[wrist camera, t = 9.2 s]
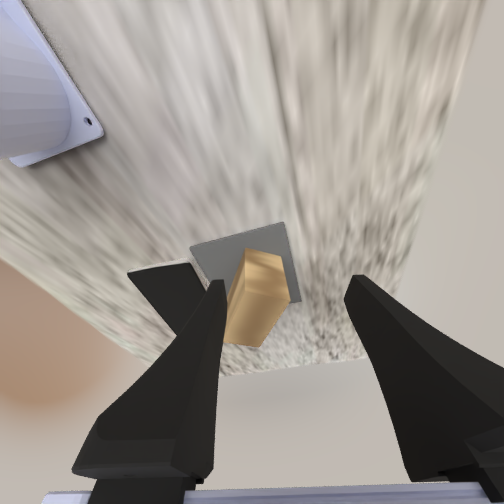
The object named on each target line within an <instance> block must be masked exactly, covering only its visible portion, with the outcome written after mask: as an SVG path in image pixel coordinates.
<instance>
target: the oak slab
mask: <svg viewBox="0 0 504 504" xmlns="http://www.w3.org/2000/svg"><path fill="white" fill-rule="evenodd" d="M290 301H291V300H290V296H289V291H288V286H287V282H286V277H285V273H284V268H283V264H282V259H281V256H277V255H273V254H269V253H265V252H261V251H257V250H254V249H250V248H246V247H245V250H244V253H243V255H242V258H241V261H240V264H239V266H238V269H237V272H236V274H235V277H234V280H233V282H232V285H231V288H230V290H229V293H228V296H227V302H228V305H227V321H226V328H225V334H224V340H223V342H225V343H232V344H239V345H246V346H252V347H260V346H261V344H262V343H263V341H264V340H265V338H266V337H267V335H268V334H269V332H270V331H271V329H272V328H273V326H274V325H275V323H276V322H277V320H278V319H279V317H280V316H281V314H282V313H283V311H284V310H285V308H286V307H287V305H288V304H289V302H290Z"/></svg>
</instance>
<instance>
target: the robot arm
mask: <svg viewBox="0 0 504 504" xmlns="http://www.w3.org/2000/svg"><path fill="white" fill-rule="evenodd" d="M87 118H89V119H90V120H91V122H92V125H90V124H89V123H88V121H87ZM103 134H104V130H103V128H102V126H101V125H100V123H99V122H98V120H97V118H96V117H95V115H94V114H93V112H92V111H91V109H90V107H89V106H88V104H87V103H86V101H85V100H84V98H83V97H82V95H81V93H80V92H79V90H78V89H77V87H76V86H75V84H74V83H73V81H72V79H71V78H70V76H69V75H68V73H67V72H66V70H65V68H64V67H63V65H62V64H61V62H60V61H59V59H58V58H57V56H56V54H55V53H54V51H53V50H52V48H51V47H50V45H49V44H48V42H47V40H46V39H45V37H44V36H43V34H42V33H41V31H40V29H39V28H38V26H37V25H36V23H35V22H34V20H33V19H32V17H31V15H30V14H29V12H28V11H27V9H26V8H25V6H24V5H23V3H22V1H21V0H0V160H2V159H6V158H8V159H9V160H10V161H11V162H12V163H13V164H15V165H16V166H18V167H26V166H29V165H32V164H34V163H37V162H39V161H42V160H44V159H47V158H49V157H52V156H54V155H57V154H60V153H62V152H65V151H67V150H70V149H72V148H75V147H77V146H80V145H82V144H85V143H87V142H90V141H92V140H95V139H98V138H100V137H102V136H103ZM344 302H345V305H346V309H347V311H348V314H349V317H350V319H351V321H352V323H353V325H354V327H355V330H356V332H357V334H358V336H359V338H360V340H361V342H362V344H363V346H364V348H365V350H366V352H367V354H368V356H369V358H370V361H371V363H372V365H373V368H374V371H375V373H376V376H377V379H378V381H379V384H380V387H381V390H382V393H383V395H384V398H385V401H386V404H387V407H388V410H389V414H390V417H391V420H392V423H393V426H394V430H395V433H396V437H397V440H398V444H399V447H400V451H401V455H402V459H403V463H404V466H405V469H406V471H407V473H408V476H409V478H410V480H411V482H437V481H449V482H450V483H423V484H391V485H358V486H324V487H294V488H293V487H292V488H259V489H228V490H195V487H196V484H203V483H204V478H207V476H208V475H209V474H210V472H211V471H212V470H213V464H214V443H215V423H216V406H217V391H218V378H219V366H220V358H221V352H222V346H223V340H224V334H225V328H226V321H227V305H228V302H227V296H226V290H225V283H224V279H216V280H212V281H211V283H210V285H209V287H208V289H207V291H206V293H205V294H204V296H203V298H202V300H201V301H200V303H199V305H198V306H197V308H196V309H195V311H194V313H193V314H192V316H191V317H190V319H189V320H188V321H187V323H186V324H185V326H184V327H183V329H182V330H181V331H180V333H179V334H178V335H177V336H176V338H175V339H174V340H173V341H172V343H171V344H170V345H169V346H168V347H167V349H166V350H165V351H164V352H163V353H162V354H161V356H160V357H159V358H158V359H157V360H156V361H155V362H154V363H153V364H152V366H151V367H150V368H149V369H148V370H147V371H146V372H145V373H144V374H143V375H142V376H141V377H140V378H139V379H138V380H137V381H136V382H135V383H134V384H133V385H132V386H131V387H130V388H129V389H128V390H127V391H126V392H124V393H123V394H122V395H121V396H120V397H119V398H118V399H117V400H116V401H115V402H114V403H112V404H111V405H110V406H109V407H108V408H107V409H106V410H105V411H104V412H103V413H102V414H100V415H99V416H98V418H97V420H96V422H95V423H94V425H93V427H92V428H91V430H90V432H89V434H88V436H87V438H86V440H85V442H84V444H83V446H82V448H81V450H80V452H79V454H78V456H77V459H76V461H75V463H74V465H73V467H72V473H74V474H76V475H79V476H84V477H88V478H93V479H97V481H96V484H95V486H94V488H93V491H55V492H49V493H47V494H46V495H45V497H44V499H43V501H42V503H41V504H504V368H503V367H501V366H499V365H497V364H495V363H493V362H491V361H489V360H488V359H486V358H484V357H482V356H480V355H478V354H477V353H475V352H473V351H472V350H470V349H468V348H466V347H465V346H463V345H461V344H459V343H458V342H456V341H455V340H453V339H451V338H449V337H448V336H446V335H445V334H443V333H442V332H440V331H439V330H437V329H436V328H434V327H432V326H431V325H429V324H428V323H426V322H425V321H424V320H422V319H421V318H419V317H418V316H417V315H415V314H414V313H412V312H411V311H410V310H408V309H407V308H405V307H404V306H403V305H402V304H400V303H399V302H398V301H396V300H395V299H394V298H393V297H391V296H390V295H389V294H388V293H386V292H385V291H384V290H383V289H381V288H380V287H379V286H378V285H376V284H375V283H374V282H373V281H371V280H370V279H369V278H368V277H366V276H365V275H353V276H352V278H351V281H350V284H349V286H348V289H347V291H346V294H345V297H344Z"/></svg>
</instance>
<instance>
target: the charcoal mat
mask: <svg viewBox="0 0 504 504" xmlns="http://www.w3.org/2000/svg"><path fill="white" fill-rule="evenodd" d="M245 247H246V248H250V249H254V250H257V251H261V252H265V253H269V254H273V255H277V256H281V259H282V264H283V268H284V273H285V277H286V282H287V286H288V291H289V296H290V300H291V301H290V302H289V304H290V303H295V302H300V301H301V296H300V292H299V288H298V283H297V279H296V274H295V270H294V265H293V261H292V257H291V252H290V248H289V243H288V239H287V235H286V230H285V226H284V222H281V223H277V224H273V225H269V226H266V227H262V228H258V229H254V230H251V231H247V232H243V233H240V234H236V235H232V236H228V237H225V238H221V239H217V240H213V241H210V242H206V243H202V244H198V245H195V246H191V247H190V251H191V252H192V254H193V256H194V257H195V259H196V261H197V262H198V264H199V266H200V267H201V269H202V270H203V272H204V274H205V275H206V277H207V279H208V280H209V282H210V283H211V281H212V280H216V279H224V283H225V290H226V296H228V293H229V290H230V288H231V285H232V282H233V280H234V277H235V274H236V272H237V269H238V266H239V264H240V261H241V258H242V255H243V253H244V250H245Z"/></svg>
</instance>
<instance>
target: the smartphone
mask: <svg viewBox="0 0 504 504" xmlns="http://www.w3.org/2000/svg"><path fill="white" fill-rule="evenodd" d="M127 275H128V277H129V279H130V280H131V281H132V282H133V283H134V285H135V286H136V287H137V288H138V289H139V291H140V292H141V293H142V294H143V295H144V297H145V298H146V299H147V300H148V301H149V303H150V304H151V305H152V306H153V308H154V309H155V310H156V311H157V312H158V314H159V315H160V316H161V317H162V318H163V320H164V321H165V322H166V323H167V324H168V326H169V327H170V328H171V329H172V330H173V332H174V333H175V334H176V335H178V334H179V333H180V331H181V330H182V329H183V327H184V326H185V324H186V323H187V321H188V320H189V319H190V317H191V316H192V314H193V313H194V311H195V309H196V308H197V306H198V305H199V303H200V301H201V300H202V298H203V296H204V294H205V293H206V291H207V289H208V288H207V286H206V284H205V282H204V281H203V279H202V277H201V275H200V273H199V271H198V270H197V268H196V266H195V264H194V262H193V260H191V259H190V258H182V259H177V260H172V261H167V262H163V263H158V264H153V265H148V266H143V267H138V268H134V269H130V270H129V271H128V272H127Z"/></svg>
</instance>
